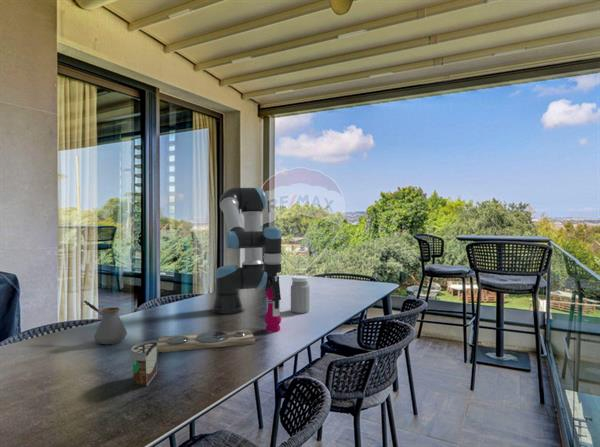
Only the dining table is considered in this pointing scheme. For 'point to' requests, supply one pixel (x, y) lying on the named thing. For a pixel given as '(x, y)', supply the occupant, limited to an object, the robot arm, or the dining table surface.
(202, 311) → the dining table surface
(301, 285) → the jar
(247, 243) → the robot arm
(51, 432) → the dining table surface
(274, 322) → the pepper mill
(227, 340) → the tan flat board
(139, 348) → the white and brown wedge
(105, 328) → the coffee pot
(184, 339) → the flange
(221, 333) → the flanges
